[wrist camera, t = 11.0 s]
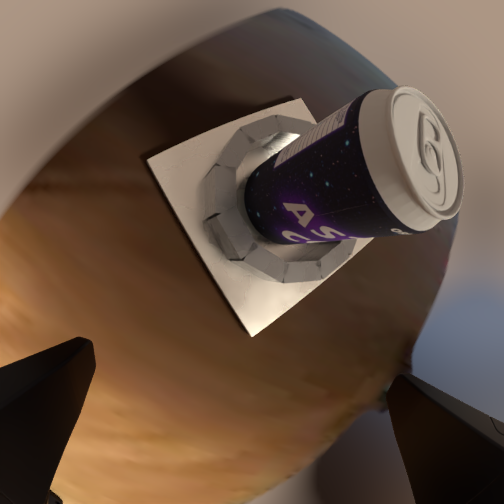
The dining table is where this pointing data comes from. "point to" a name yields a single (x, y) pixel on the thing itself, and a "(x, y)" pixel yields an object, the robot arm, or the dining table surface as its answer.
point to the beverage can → (361, 174)
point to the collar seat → (245, 215)
